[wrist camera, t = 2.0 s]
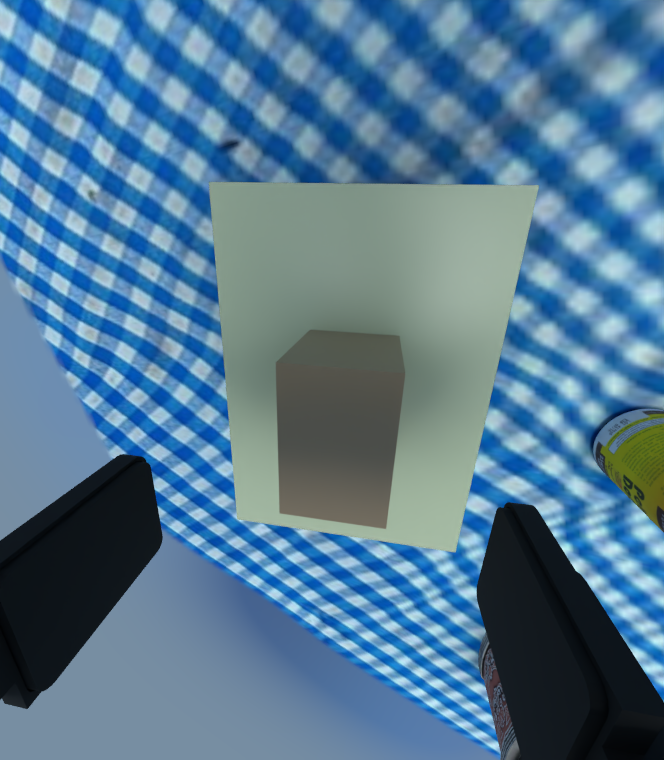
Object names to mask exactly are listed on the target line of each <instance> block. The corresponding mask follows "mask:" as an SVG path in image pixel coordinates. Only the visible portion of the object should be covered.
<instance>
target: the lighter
mask: <svg viewBox="0 0 664 760" xmlns="http://www.w3.org/2000/svg"><path fill="white" fill-rule="evenodd" d="M479 669H480V673H481V677H482V679H483V680H484V681H485V686H486V690H487V694H488V699H489V703H490V707H491V712H492V716H493V721H494V725H495V729H496V734H497V738H498V742H499V747H500V751H501V759H500V760H522V757H521V754H520V750H519V747H518V743H517V740H516V736H515V733H514V729H513V725H512V722H511V718H510V715H509V711H508V708H507V704H506V701H505V697H504V693H503V690H502V686H501V683H500V679H499V676H498V672H497V669H496V665H495V661H494V658H493V654H492V651H491V647H490V644H489V640H488V637H487V633H485V636H484V638H483V640H482V642H481V646H480V651H479Z"/></svg>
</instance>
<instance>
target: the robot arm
mask: <svg viewBox="0 0 664 760" xmlns="http://www.w3.org/2000/svg"><path fill="white" fill-rule="evenodd" d="M161 543H162V530H161V525H160V519H159V513H158V507H157V501H156V495H155V490H154V484H153V478H152V472H151V467H150V465H149V463H147V462H146V460H145V458H144V457H141V456H133V455H125V454H123V455H119V456H117V457H116V458H114V459H113V460H111V461H110V462H109V463H107V464H106V465H105V466H103V467H102V468H100V469H99V470H98V471H96V472H95V473H93V474H92V475H91V476H89V477H88V478H86V479H85V480H84V481H82V482H81V483H80V484H78V485H77V486H75V487H74V488H73V489H71V490H70V491H68V492H67V493H66V494H64V495H63V496H61V497H60V498H59V499H57V500H56V501H55V502H53V503H52V504H50V505H49V506H48V507H46V508H45V509H43V510H42V511H41V512H40V513H38V514H37V515H35V516H34V517H33V518H31V519H30V520H28V521H27V522H26V523H24V524H23V525H21V526H20V527H19V528H17V529H16V530H14V531H13V532H12V533H10V534H9V535H7V536H6V537H5V538H4V539H2V540H1V541H0V699H1V698H2V699H3V701H4V703H5V704H9V705H13V706H17V707H22V708H25V709H28V708H29V706H30V705H31V704H32V703H33V701H34V700H35V699H36V698H37V696H38V695H39V694H40V693H41V691H44V690H46V689H48V688H49V687H50V686H52V684H53V683H54V682H55V681H56V680H57V678H58V677H59V676H60V675H61V673H62V672H63V671H64V670H65V668H66V667H67V666H68V665H69V663H70V662H71V661H72V659H73V658H74V657H75V655H76V654H77V653H78V652H79V650H80V649H81V648H82V647H83V646H84V644H85V643H86V641H87V640H88V639H89V638H90V636H91V635H92V634H93V633H94V632H95V630H96V629H97V628H98V626H99V625H100V624H101V623H102V621H103V620H104V619H105V617H106V616H107V615H108V614H109V612H110V611H111V610H112V609H113V607H114V606H115V605H116V603H117V602H118V601H119V600H120V598H121V597H122V596H123V595H124V593H125V592H126V591H127V590H128V588H129V587H130V586H131V584H132V583H133V582H134V581H135V579H136V578H137V577H138V575H139V574H140V573H141V572H142V570H143V569H144V568H145V567H146V565H147V564H148V563H149V562H150V560H151V559H152V558H153V556H154V555H155V554H156V552H157V551H158V550H159V548H160V546H161ZM477 600H478V605H479V608H480V612H481V615H482V619H483V622H484V626H485V629H486V633H487V637H488V640H489V644H490V647H491V651H492V654H493V658H494V661H495V665H496V669H497V672H498V676H499V679H500V683H501V686H502V690H503V693H504V697H505V701H506V704H507V708H508V711H509V715H510V718H511V722H512V725H513V729H514V733H515V736H516V740H517V743H518V747H519V750H520V754H521V757H522V760H664V702H663V700H662V699H661V697H660V696H659V694H658V692H657V691H656V689H655V688H654V686H653V685H652V683H651V682H650V680H649V678H648V677H647V675H646V674H645V672H644V671H643V669H642V668H641V666H640V664H639V663H638V661H637V660H636V658H635V657H634V655H633V654H632V652H631V650H630V649H629V647H628V646H627V644H626V643H625V641H624V640H623V638H622V636H621V635H620V633H619V632H618V630H617V629H616V627H615V625H614V624H613V622H612V621H611V619H610V618H609V616H608V615H607V613H606V611H605V610H604V608H603V607H602V605H601V604H600V602H599V601H598V599H597V597H596V596H595V594H594V593H593V591H592V590H591V588H590V587H589V585H588V583H587V582H586V581H585V579H584V578H583V577H582V576H581V574H579V573H578V572H576V571H575V569H574V568H573V566H572V564H571V563H570V561H569V560H568V558H567V556H566V555H565V553H564V552H563V550H562V548H561V547H560V545H559V544H558V542H557V541H556V539H555V537H554V536H553V534H552V533H551V531H550V529H549V528H548V526H547V525H546V523H545V521H544V520H543V518H542V517H541V515H540V514H539V512H538V510H537V509H536V508H535V507H534V506H532V505H526V504H518V503H510V502H508V503H506V504H505V506H504V508H498V509H497V511H496V514H495V518H494V522H493V526H492V530H491V534H490V538H489V542H488V545H487V549H486V553H485V557H484V561H483V565H482V569H481V573H480V576H479V580H478V584H477Z"/></svg>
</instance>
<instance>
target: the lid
mask: <svg viewBox="0 0 664 760" xmlns="http://www.w3.org/2000/svg"><path fill="white" fill-rule="evenodd" d="M538 188H539V185H449V184H353V183H256V182H209V190H210V202H211V214H212V226H213V238H214V249H215V261H216V273H217V285H218V297H219V308H220V320H221V332H222V344H223V356H224V367H225V379H226V391H227V403H228V415H229V426H230V438H231V450H232V462H233V474H234V485H235V497H236V509H237V519H239V520H246V521H252V522H259V523H266V524H272V525H279V526H285V527H292V528H299V529H305V530H312V531H318V532H325V533H331V534H338V535H345V536H351V537H358V538H364V539H371V540H377V541H384V542H391V543H397V544H404V545H410V546H417V547H423V548H430V549H437V550H443V551H450V552H455V551H456V547H457V543H458V538H459V534H460V529H461V525H462V521H463V516H464V512H465V507H466V503H467V499H468V494H469V490H470V486H471V481H472V477H473V472H474V468H475V464H476V459H477V455H478V451H479V446H480V442H481V437H482V433H483V429H484V424H485V420H486V415H487V411H488V407H489V402H490V398H491V394H492V389H493V385H494V380H495V376H496V372H497V367H498V363H499V359H500V354H501V350H502V345H503V341H504V337H505V332H506V328H507V323H508V319H509V315H510V310H511V306H512V302H513V297H514V293H515V288H516V284H517V280H518V275H519V271H520V267H521V262H522V258H523V253H524V249H525V245H526V240H527V236H528V232H529V227H530V223H531V218H532V214H533V210H534V205H535V201H536V196H537V192H538Z"/></svg>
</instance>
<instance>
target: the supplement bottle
mask: <svg viewBox="0 0 664 760" xmlns="http://www.w3.org/2000/svg"><path fill="white" fill-rule="evenodd" d="M593 453H594V458H595V460H596V463H597V464H598V466H599V467H600V468H601V470H602V471H603V472H604V473H605V474H606V475H607V476H608V477H609V478H610V479H611V480H612V481H613V482H614V483H615V484H616V485H617V486H618V487H619V488H620V489H621V490H622V491H623V492H624V493H625V494H626V495H627V496H628V497H629V498H630V499H631V500H632V501H633V502H634V503H635V504H636V505H637V506H638V507H639V508H640V509H641V510H642V511H643V512H644V513H645V514H646V515H647V516H648V517H649V518H650V520H652V521H653V522H654V523H655V524H656V525H657V526H658V527H659V528H660V529H661V530H662V531H663V532H664V410H659V409H638V410H633V411H630V412H627V413H624V414H622V415H620V416H617V417H616V418H614V419H613V420H611V421H610V422H608V423H607V424H606V425H605V426H604V427H603V428H602V429H601V431H600V432H599V433H598V435H597V437H596V439H595V442H594V447H593Z"/></svg>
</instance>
